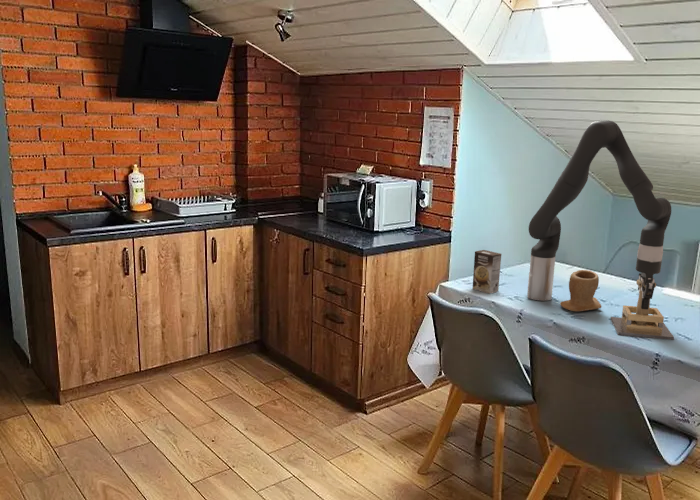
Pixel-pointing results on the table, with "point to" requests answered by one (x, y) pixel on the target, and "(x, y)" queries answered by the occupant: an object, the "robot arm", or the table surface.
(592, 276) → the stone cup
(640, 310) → the handle
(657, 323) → the collar stand
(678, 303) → the table surface
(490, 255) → the coffee box
